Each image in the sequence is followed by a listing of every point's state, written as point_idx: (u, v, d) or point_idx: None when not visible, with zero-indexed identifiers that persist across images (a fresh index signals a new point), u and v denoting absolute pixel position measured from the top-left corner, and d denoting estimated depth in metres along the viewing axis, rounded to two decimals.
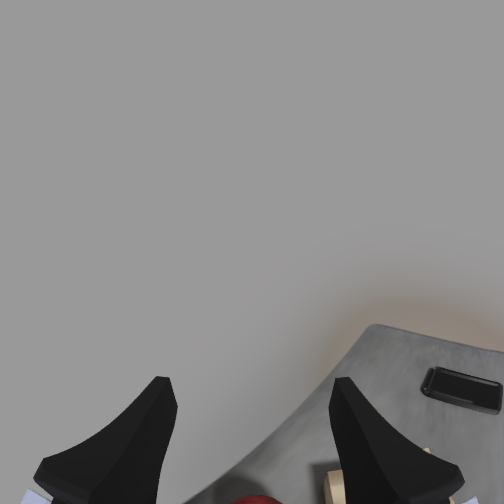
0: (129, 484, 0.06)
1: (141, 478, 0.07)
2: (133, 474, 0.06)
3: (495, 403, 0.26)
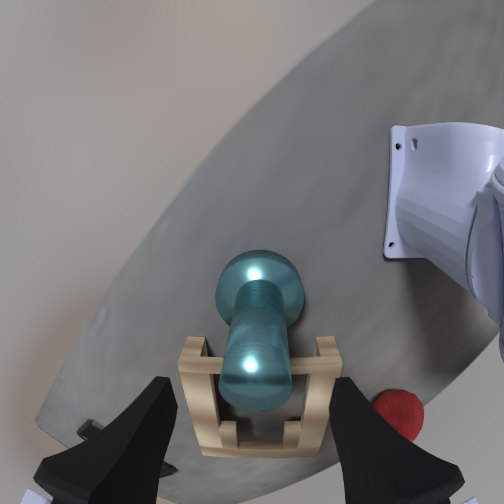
0: (129, 484, 0.06)
1: (141, 478, 0.07)
2: (133, 474, 0.06)
3: (91, 429, 0.29)
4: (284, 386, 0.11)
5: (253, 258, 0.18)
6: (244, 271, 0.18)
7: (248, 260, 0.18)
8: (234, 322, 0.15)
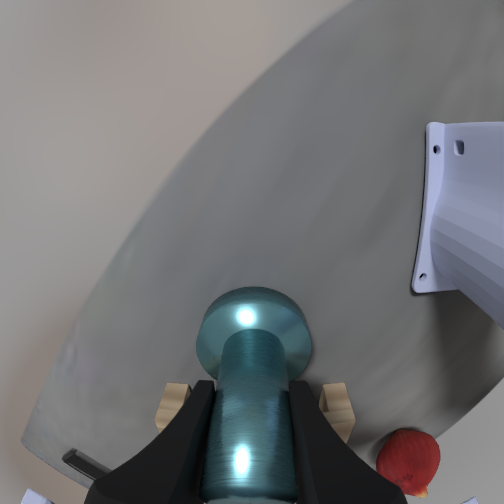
0: (187, 496, 0.06)
1: (194, 488, 0.07)
2: (190, 485, 0.06)
3: (76, 458, 0.24)
4: (287, 498, 0.06)
5: (244, 302, 0.13)
6: (232, 319, 0.13)
7: (237, 306, 0.13)
8: (218, 401, 0.10)
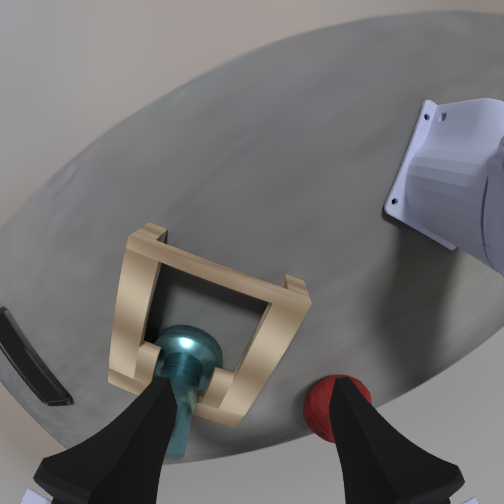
0: (129, 484, 0.06)
1: (141, 478, 0.07)
2: (133, 474, 0.06)
3: (1, 319, 0.23)
4: (177, 448, 0.14)
5: (171, 336, 0.21)
6: (166, 346, 0.21)
7: (166, 339, 0.21)
8: None
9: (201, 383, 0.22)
